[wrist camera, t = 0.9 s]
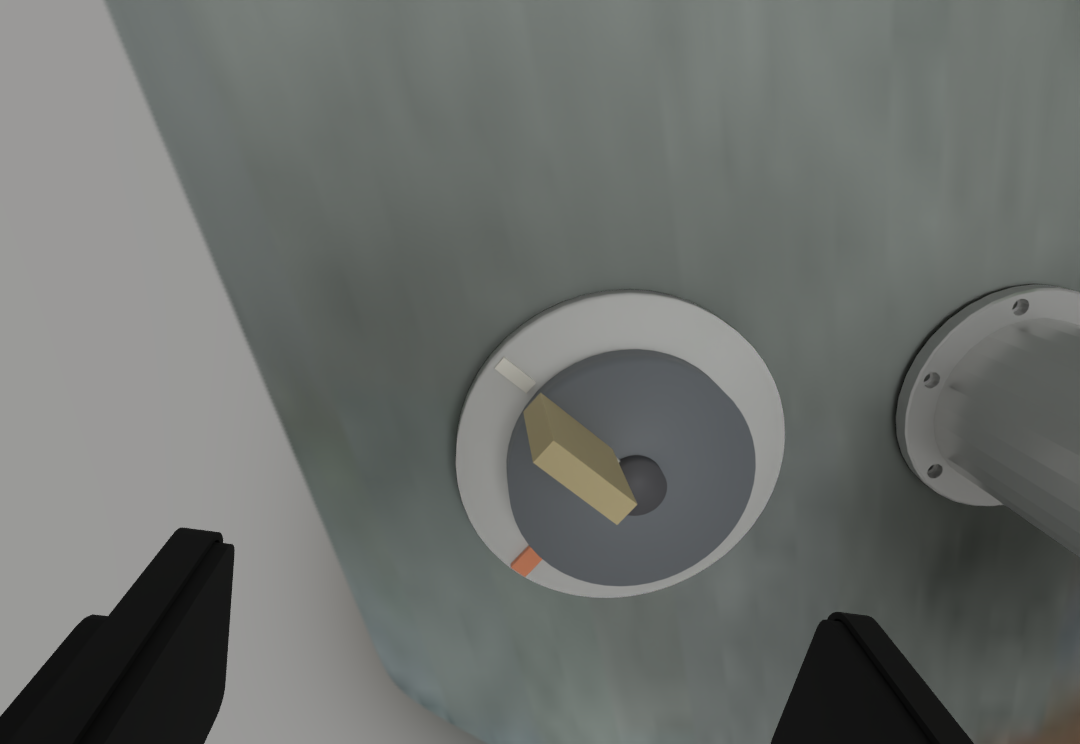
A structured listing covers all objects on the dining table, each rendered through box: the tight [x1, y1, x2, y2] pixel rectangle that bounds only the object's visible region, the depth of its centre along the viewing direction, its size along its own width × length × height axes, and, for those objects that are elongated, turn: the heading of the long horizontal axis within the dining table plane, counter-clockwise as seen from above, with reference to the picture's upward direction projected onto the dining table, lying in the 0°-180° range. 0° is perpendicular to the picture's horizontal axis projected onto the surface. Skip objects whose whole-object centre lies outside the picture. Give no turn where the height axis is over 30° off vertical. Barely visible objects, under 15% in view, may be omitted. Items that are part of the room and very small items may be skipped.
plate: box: [456, 289, 785, 598], centre depth 35 cm, size 17×17×2 cm
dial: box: [506, 349, 756, 586], centre depth 31 cm, size 12×12×7 cm
